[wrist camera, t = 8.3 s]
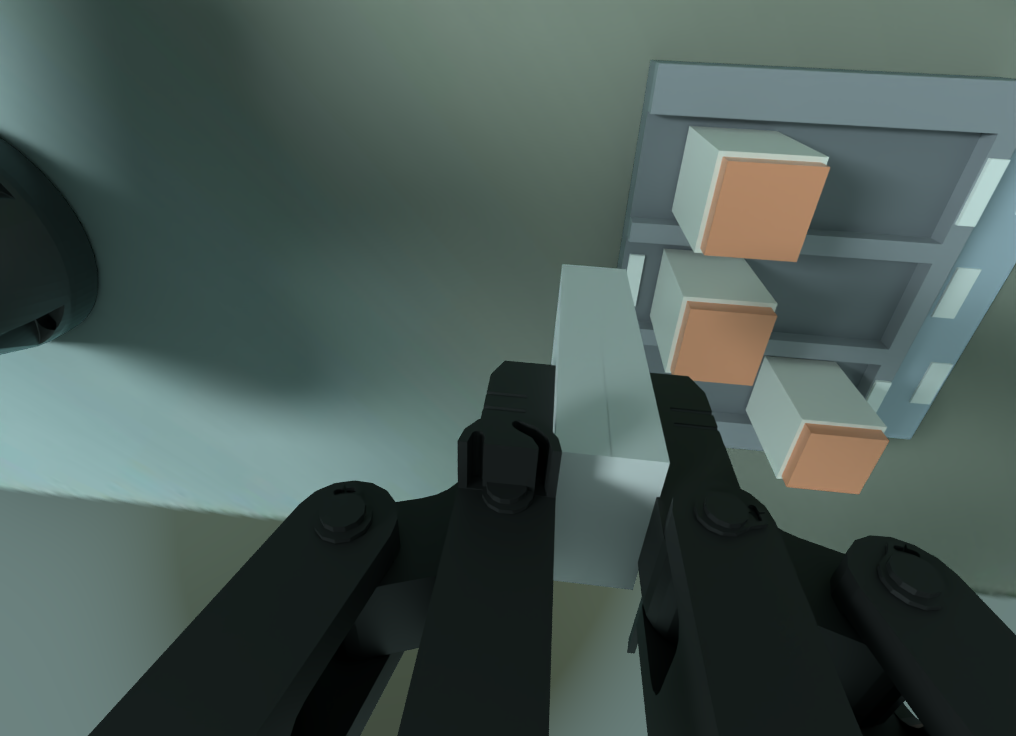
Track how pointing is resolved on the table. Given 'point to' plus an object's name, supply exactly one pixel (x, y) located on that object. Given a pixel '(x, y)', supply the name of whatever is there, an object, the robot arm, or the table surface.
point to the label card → (955, 311)
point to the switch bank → (830, 204)
